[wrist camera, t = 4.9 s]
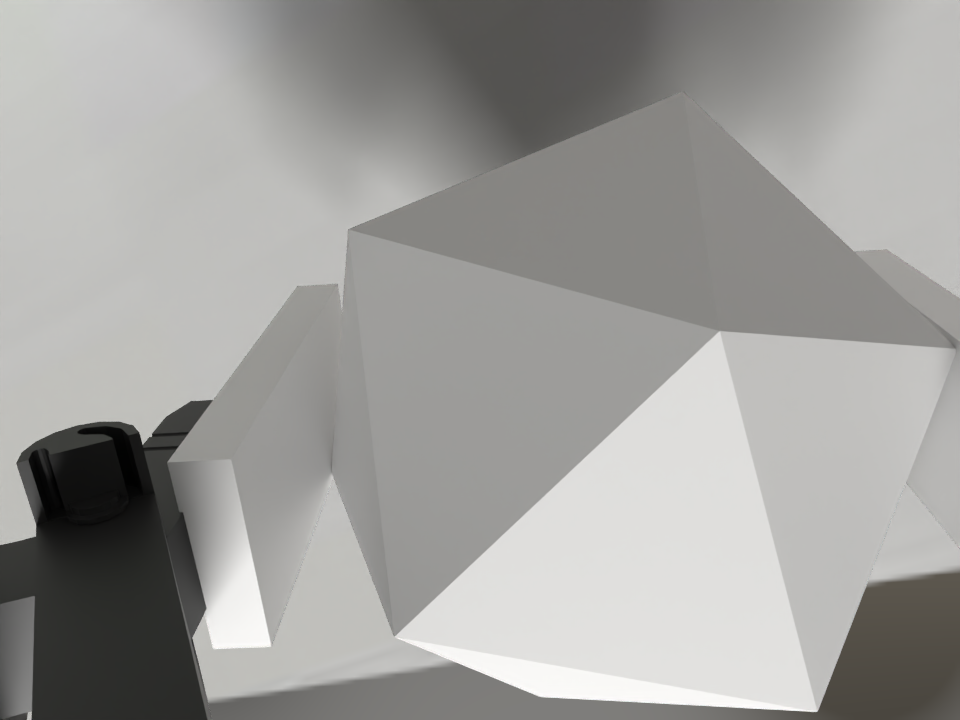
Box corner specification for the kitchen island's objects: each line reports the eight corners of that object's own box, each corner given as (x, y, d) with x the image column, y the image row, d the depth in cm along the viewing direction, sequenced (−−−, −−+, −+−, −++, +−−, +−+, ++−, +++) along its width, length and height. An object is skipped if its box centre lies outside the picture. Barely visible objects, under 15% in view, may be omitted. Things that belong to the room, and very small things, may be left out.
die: (326, 447, 18) (535, 927, 13) (160, 114, 12) (451, 819, 6) (652, 296, 20) (971, 667, 14) (674, -77, 13) (1299, 343, 7)
